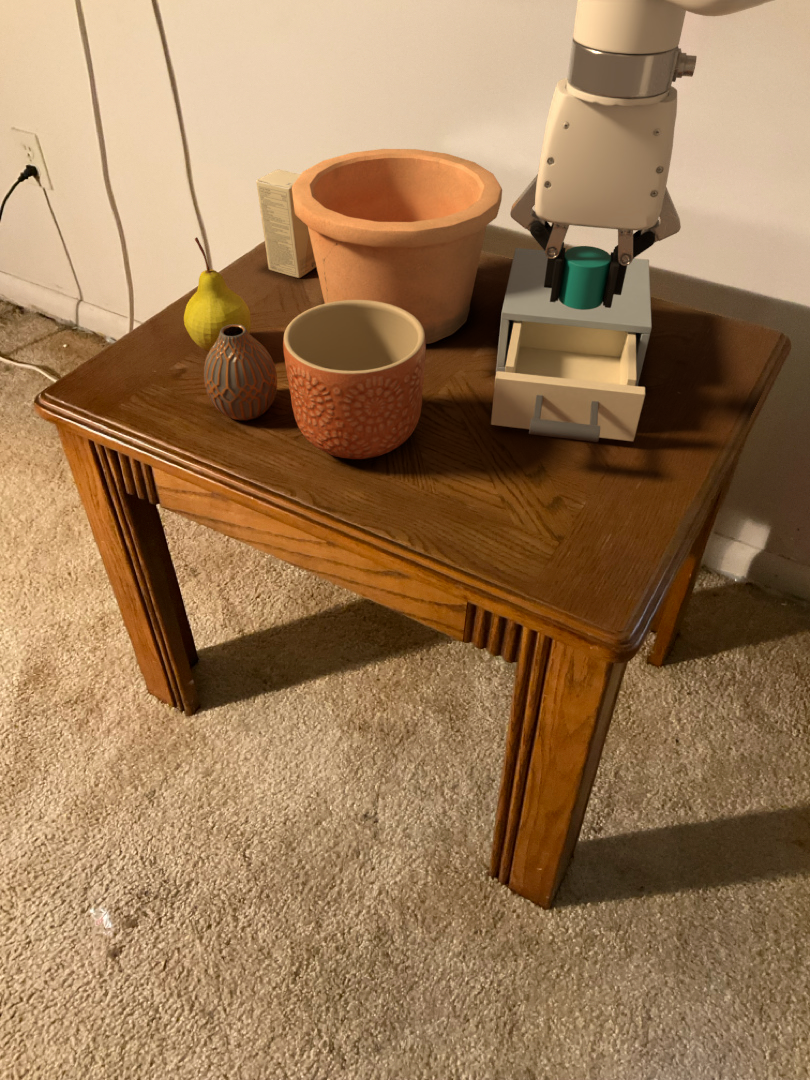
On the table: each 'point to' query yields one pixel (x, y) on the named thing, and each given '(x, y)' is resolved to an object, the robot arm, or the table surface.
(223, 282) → the fruit
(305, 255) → the box
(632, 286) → the grey cabinet
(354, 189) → the pottery
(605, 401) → the drawer
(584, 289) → the cylinder
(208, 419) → the table surface
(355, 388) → the planter
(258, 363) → the vase
